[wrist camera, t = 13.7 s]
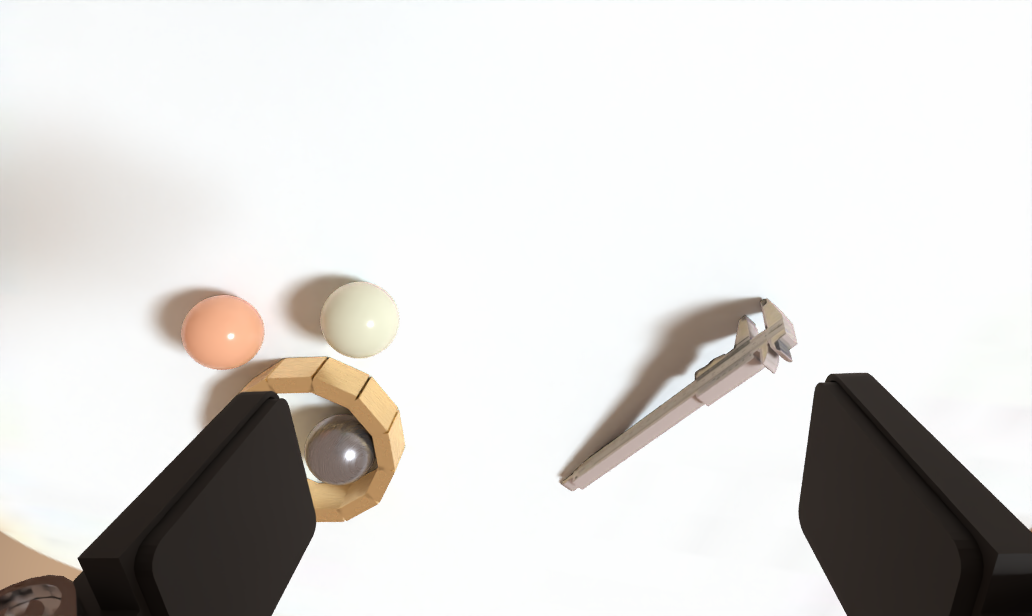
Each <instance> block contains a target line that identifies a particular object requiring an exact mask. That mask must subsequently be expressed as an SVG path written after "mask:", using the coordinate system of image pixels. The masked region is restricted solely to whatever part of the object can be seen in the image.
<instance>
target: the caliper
mask: <svg viewBox="0 0 1032 616" xmlns="http://www.w3.org/2000/svg"><path fill="white" fill-rule="evenodd" d="M760 303H761V307H762V312H763V318H764V323H765V328H766V330H764V331H763V332H761V333H759V334H758V330H757V328H756V326H755V323H754V322H753V321H751V320H750V319H749V318H748V317H747V316H746V315H744V316H743V317H742V318H741V319H740V320H739V323H738V329H737V334H736V340H735V345H734V349H732V350H731V351H730V352H728V353H727V354H726V355H725V354H723V355H721V356H719V357H717V358H715V359H713V360H712V361H710V363H709V364H708V365H706V366H705V367H703V368H701V369H699V370H698V371H696V372H695V381H693V382H692V383H691V384H689V385H688V386H687V387H685V388H684V389H683V390H681V391H680V392H678V393H677V394H676V395H674V396H673V397H672V398H670V399H669V400H668V401H666V402H665V403H664V404H662V405H661V406H659V407H658V408H657V409H655V410H654V411H653V412H651V413H650V414H649V415H647V416H646V417H644V418H643V419H642V420H640V421H639V422H638V423H636V424H635V425H634V426H632V427H631V428H629V429H628V430H627V431H625V432H624V433H623V434H621V435H620V436H618V437H617V438H616V439H614V440H613V441H612V442H610V443H609V444H607V445H606V446H605V447H603V448H602V449H600V450H599V451H598V452H596V453H595V454H594V455H592V456H591V457H589V458H588V459H587V460H586V461H585V462H584V463H583V464H582V465H580V466H579V467H578V468H577V469H576V470H575V471H574V472H573V474H572V475H571V476H569V477H568V478H567V479H565V480H564V481H563V482H562V485H564V486H565V487H567V488H568V489H569V490H571V491H572V490H573V491H574V490H576V489H577V488H580V489H584V488H585V487H587V486H588V485H590V484H591V483H592V482H594V481H595V480H597V479H598V478H600V477H601V476H603V475H604V474H605V473H607V472H608V471H610V470H611V469H613V468H614V467H616V466H617V465H618V464H620V463H621V462H623V461H624V460H626V459H627V458H628V457H630V456H631V455H633V454H634V453H636V452H637V451H638V450H640V449H641V448H643V447H644V446H646V445H647V444H648V443H650V442H651V441H653V440H654V439H656V438H657V437H658V436H660V435H661V434H663V433H664V432H666V431H667V430H668V429H670V428H671V427H673V426H674V425H676V424H677V423H678V422H680V421H681V420H683V419H684V418H686V417H687V416H688V415H690V414H691V413H693V412H694V411H696V410H697V409H698V408H700V407H701V406H703V405H704V404H706V405H707V406H709V405H711V404H712V403H714V402H715V401H717V400H718V399H720V398H721V397H723V396H724V395H726V394H727V393H728V392H730V391H731V390H733V389H734V388H736V387H737V386H739V385H740V384H742V383H743V382H745V381H746V380H748V379H749V378H751V377H752V376H753V375H755V374H756V373H758V372H759V371H761V370H762V369H763V368H764V367H766V368H767V369H769V370H770V371H771V372H772V373H773V374H774V373H775V372H776V370H777V367H778V363H779V355H780V356H781V357H782V358H783V359H784V360H786V361H788V362H792V358H791V354H790V351H789V350H790V349H791V348H792V347H794V346H795V345H796V344H797V340H796V336H795V331H794V327H793V324H792V323H791V322H790V320H789V319H788V318H787V317H786V316H785V315H784V314H783V312H782V311H781V310H780V309H779V308H778V307H776V306H775V305H774V304H773V303H772V302H771V301H770V300H768V299H763V300H762V301H760Z"/></svg>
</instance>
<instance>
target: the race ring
mask: <svg viewBox="0 0 1032 616" xmlns="http://www.w3.org/2000/svg"><path fill="white" fill-rule="evenodd" d="M368 377H369V375H368V374H366V373H364V372H362V371H359V370H357V369H355V368H353V367H350V366H348V365H346V364H344V363H341V362H339V361H337V360H335V359H333V358H329V359H328V360H327V357H304V358H285V359H282V360H281V361H279V362H278V363H276V364H275V365H273V366H272V367H270V368H269V369H267V370H266V371H264V372H262V373H261V374H259V375H258V376H256V377H255V378H253V379H252V380H251V381H250V382H249V383H248V384H247V385H246V386H245V387H244V388H243V389H242V390H241V391H240V393H241V392H253V391H274V392H275V393H309V392H312V393H314V394H316V395H318V396H321V397H323V398H325V399H328V400H330V401H332V402H334V403H337V404H339V405H341V406H344V407H346V408H348V409H349V410H350V411H351V413H352V414H353V415H354V416H355V417H356V418H357V419H358V421H359V422H360V423H361V424H362V425H363V426H364V428H365V429H366V430H367V431H368V432H369V433H370V434H371V436H372V438H373V443H374V448H375V453H376V459H377V464H378V468H377V469H375V470H373V471H372V472H370V473H368V474H366V475H364V476H363V477H361V478H360V479H359V480H357V481H355V482H353V483H350V484H346V485H330V484H327V483H317V482H314V481H312V480H310V479H307V481H308V485H309V489H310V493H311V497H312V501H313V505H314V509H315V513H316V522H344V520H346V521H348V520H349V519H351V518H353V517H355V516H357V515H359V514H361V513H362V512H364V511H366V510H368V509H370V508H372V507H374V506H375V505H377V504H378V503H379V502H380V501H381V499H382V497H383V495H384V493H385V491H386V489H387V487H388V485H389V483H390V481H391V479H392V477H393V475H394V473H395V470H396V468H397V465H398V463H399V460H400V458H401V455H402V453H403V450H404V448H405V447H404V446H405V442H404V436H403V430H402V424H401V418H400V412H399V410H397V409H398V407H397V406H396V405H395V404H394V403H393V401H392V400H391V399H390V398H389V397H388V395H387V394H386V393H385V392H384V391H383V389H382V388H381V387H380V386H379V385H378V384H377V382H376V381H375V380H374V379H373V378H372V377H371V378H369V379H368Z"/></svg>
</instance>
